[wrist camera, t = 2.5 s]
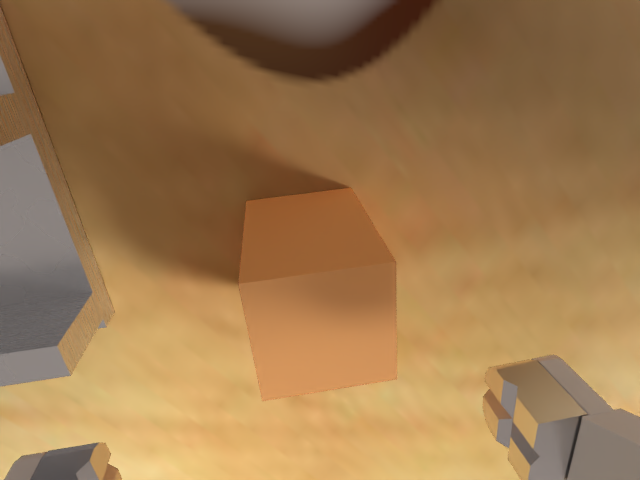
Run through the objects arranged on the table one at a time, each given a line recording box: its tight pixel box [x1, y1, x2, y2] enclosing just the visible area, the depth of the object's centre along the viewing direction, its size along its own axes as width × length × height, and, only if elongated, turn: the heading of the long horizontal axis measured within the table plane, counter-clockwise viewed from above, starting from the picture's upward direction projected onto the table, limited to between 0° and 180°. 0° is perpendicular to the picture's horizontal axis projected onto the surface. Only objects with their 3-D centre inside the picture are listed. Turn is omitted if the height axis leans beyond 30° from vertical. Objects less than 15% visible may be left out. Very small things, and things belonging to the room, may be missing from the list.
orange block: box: [238, 188, 397, 401], centre depth 14 cm, size 4×4×6 cm
